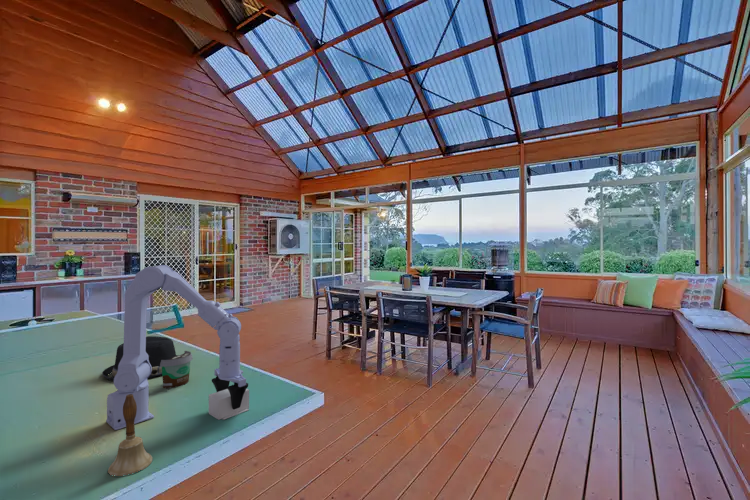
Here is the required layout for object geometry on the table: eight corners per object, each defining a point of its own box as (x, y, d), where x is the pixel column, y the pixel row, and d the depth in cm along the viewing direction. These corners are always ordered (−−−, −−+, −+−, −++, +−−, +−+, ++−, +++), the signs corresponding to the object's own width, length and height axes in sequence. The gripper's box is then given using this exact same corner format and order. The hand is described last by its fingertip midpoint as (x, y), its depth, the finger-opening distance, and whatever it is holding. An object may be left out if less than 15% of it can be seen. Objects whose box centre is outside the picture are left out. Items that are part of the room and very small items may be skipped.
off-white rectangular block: (218, 419, 102) (218, 400, 102) (208, 413, 106) (208, 394, 106) (249, 408, 109) (249, 389, 109) (238, 402, 113) (238, 385, 113)
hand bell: (128, 480, 76) (128, 404, 76) (98, 473, 78) (98, 399, 78) (161, 458, 84) (161, 389, 83) (133, 452, 86) (133, 385, 86)
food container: (175, 391, 122) (175, 361, 122) (159, 389, 123) (159, 360, 123) (200, 378, 134) (200, 351, 134) (185, 376, 135) (185, 350, 135)
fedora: (99, 370, 142) (99, 338, 142) (176, 356, 160) (176, 328, 160) (106, 389, 124) (106, 352, 123) (192, 371, 142) (192, 339, 142)
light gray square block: (223, 419, 102) (223, 419, 102) (209, 411, 107) (209, 410, 107) (249, 410, 108) (249, 409, 108) (234, 402, 113) (234, 401, 113)
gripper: (255, 360, 106) (255, 406, 106) (229, 351, 115) (229, 393, 115) (233, 367, 101) (232, 415, 101) (207, 356, 110) (207, 401, 110)
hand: (229, 404), depth 108 cm, fingers open, 7 cm apart
